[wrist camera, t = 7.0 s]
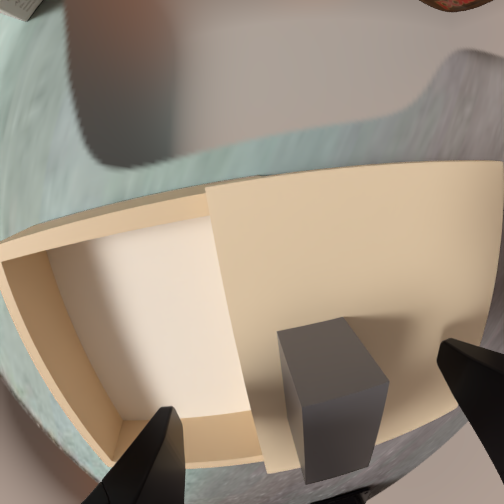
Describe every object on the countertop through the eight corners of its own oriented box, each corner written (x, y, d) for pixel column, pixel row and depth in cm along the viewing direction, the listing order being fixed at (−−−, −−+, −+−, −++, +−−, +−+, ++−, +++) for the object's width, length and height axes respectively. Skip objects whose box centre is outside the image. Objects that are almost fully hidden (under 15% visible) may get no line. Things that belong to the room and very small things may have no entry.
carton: (288, 404, 15) (302, 453, 11) (119, 422, 14) (107, 466, 11) (258, 175, 11) (275, 181, 8) (34, 225, 10) (-14, 248, 7)
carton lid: (451, 402, 12) (483, 442, 8) (266, 465, 11) (277, 526, 8) (493, 160, 8) (565, 173, 5) (206, 186, 7) (194, 207, 4)
